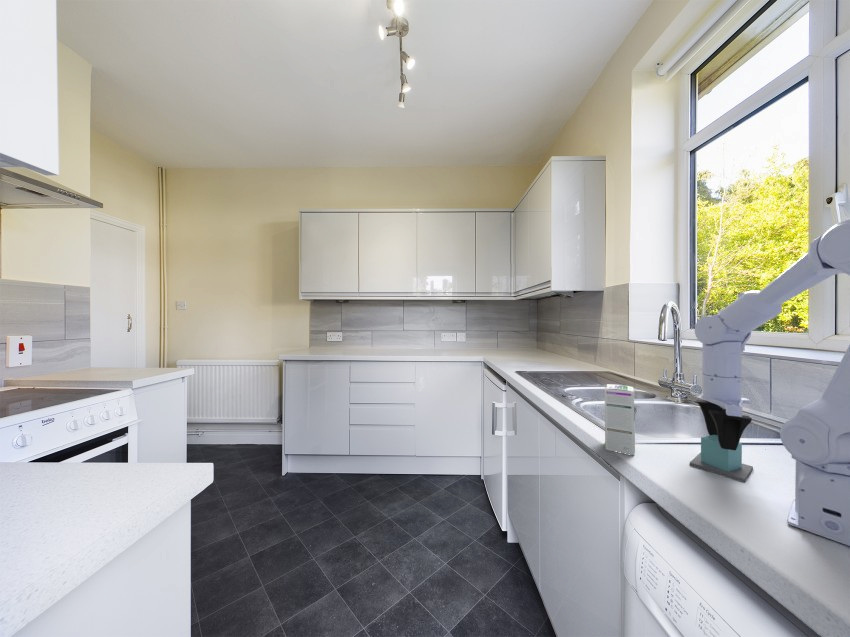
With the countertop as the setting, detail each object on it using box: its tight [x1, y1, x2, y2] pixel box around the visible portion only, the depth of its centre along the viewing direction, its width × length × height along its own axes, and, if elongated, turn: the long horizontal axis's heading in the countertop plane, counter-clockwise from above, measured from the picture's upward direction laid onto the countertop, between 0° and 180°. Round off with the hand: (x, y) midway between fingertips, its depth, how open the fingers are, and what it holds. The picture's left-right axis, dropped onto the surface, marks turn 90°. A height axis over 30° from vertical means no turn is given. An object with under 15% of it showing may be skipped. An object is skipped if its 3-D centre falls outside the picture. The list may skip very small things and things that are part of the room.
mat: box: [689, 451, 754, 483], centre depth 63 cm, size 8×8×1 cm
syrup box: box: [604, 383, 636, 456], centre depth 71 cm, size 6×6×14 cm
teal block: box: [700, 435, 743, 472], centre depth 63 cm, size 4×4×5 cm
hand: (721, 441), depth 62 cm, fingers open, 7 cm apart
